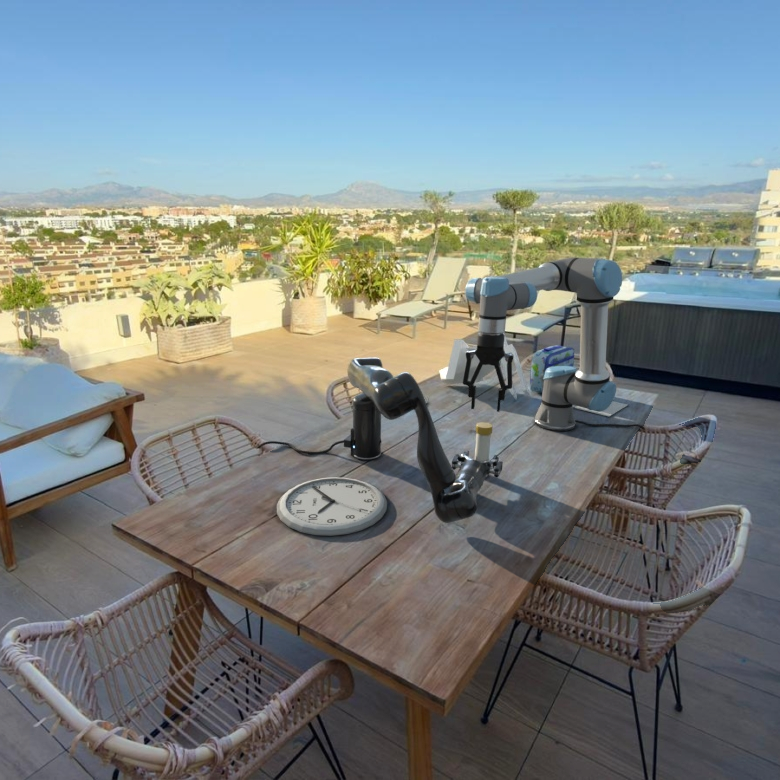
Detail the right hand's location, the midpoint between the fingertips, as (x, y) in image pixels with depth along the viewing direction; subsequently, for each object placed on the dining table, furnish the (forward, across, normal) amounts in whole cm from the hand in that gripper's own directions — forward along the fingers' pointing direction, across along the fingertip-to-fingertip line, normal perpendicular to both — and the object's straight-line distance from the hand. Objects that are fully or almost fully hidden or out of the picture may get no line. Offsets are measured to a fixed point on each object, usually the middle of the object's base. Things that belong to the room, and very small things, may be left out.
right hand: (485, 408), depth 155 cm
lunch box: (+22, -23, -99) cm, 104 cm away
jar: (+22, 0, 0) cm, 22 cm away
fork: (+22, +31, -58) cm, 69 cm away
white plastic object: (+22, +9, -86) cm, 89 cm away
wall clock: (+22, +37, +30) cm, 53 cm away
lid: (+6, 0, 0) cm, 6 cm away
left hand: (+15, 0, 0) cm, 15 cm away
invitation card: (+22, -44, -81) cm, 95 cm away
